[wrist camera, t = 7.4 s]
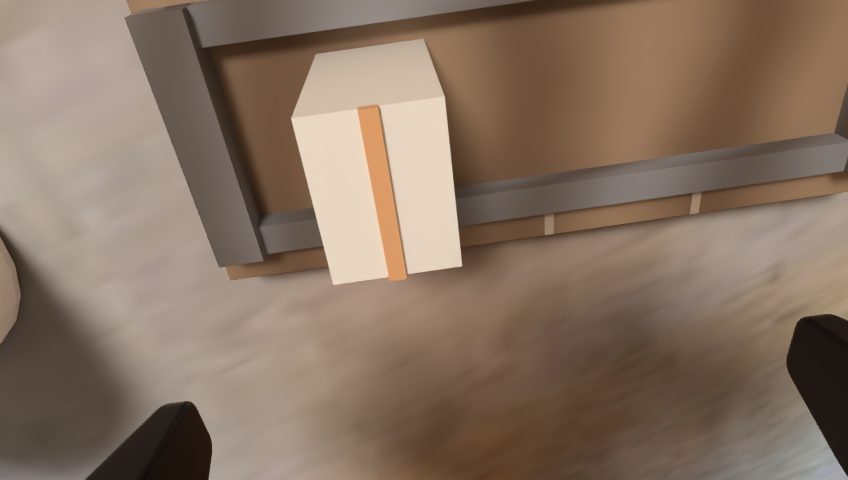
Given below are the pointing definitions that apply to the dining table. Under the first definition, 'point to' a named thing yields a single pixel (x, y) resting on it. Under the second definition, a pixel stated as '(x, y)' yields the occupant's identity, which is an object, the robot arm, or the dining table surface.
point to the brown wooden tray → (511, 109)
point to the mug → (8, 292)
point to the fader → (379, 162)
